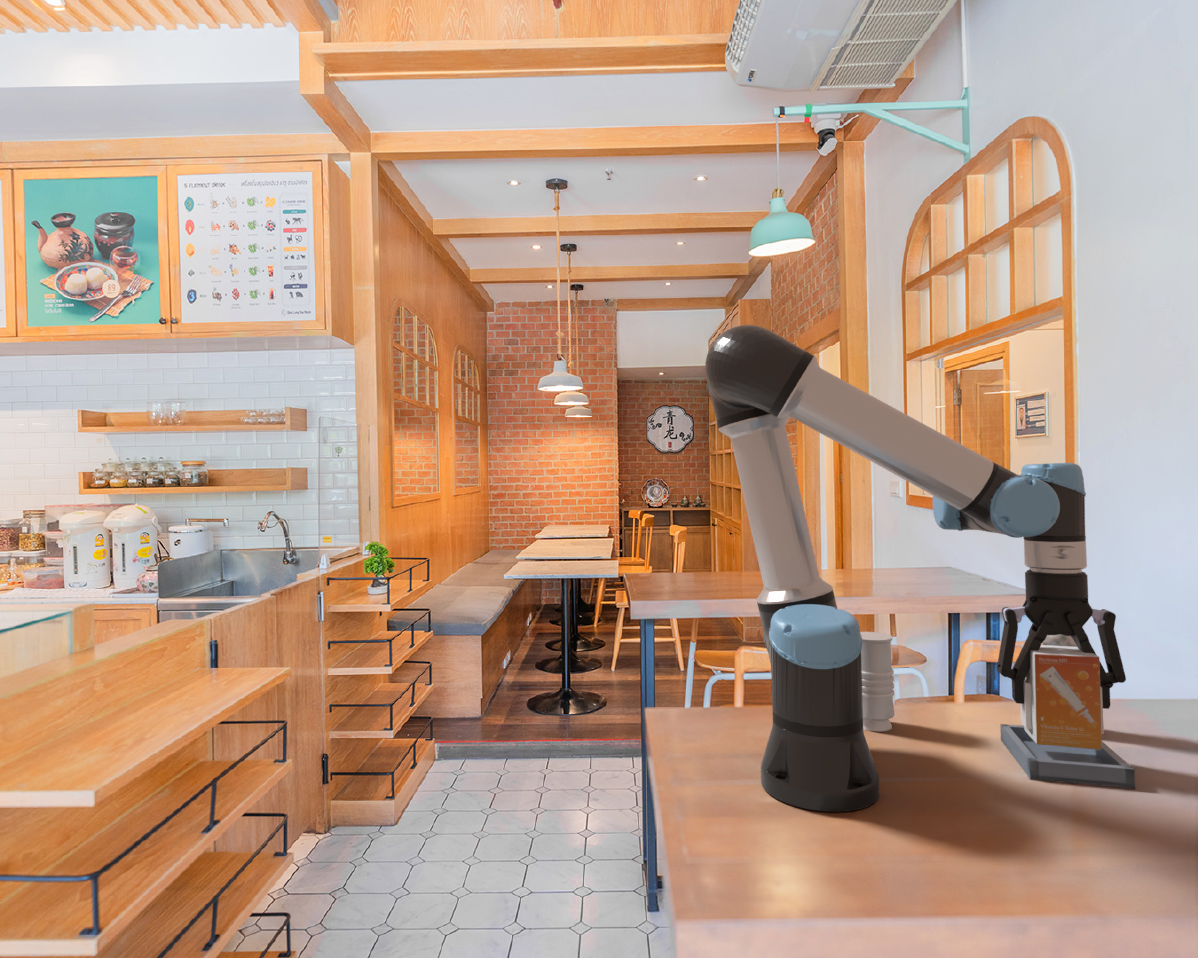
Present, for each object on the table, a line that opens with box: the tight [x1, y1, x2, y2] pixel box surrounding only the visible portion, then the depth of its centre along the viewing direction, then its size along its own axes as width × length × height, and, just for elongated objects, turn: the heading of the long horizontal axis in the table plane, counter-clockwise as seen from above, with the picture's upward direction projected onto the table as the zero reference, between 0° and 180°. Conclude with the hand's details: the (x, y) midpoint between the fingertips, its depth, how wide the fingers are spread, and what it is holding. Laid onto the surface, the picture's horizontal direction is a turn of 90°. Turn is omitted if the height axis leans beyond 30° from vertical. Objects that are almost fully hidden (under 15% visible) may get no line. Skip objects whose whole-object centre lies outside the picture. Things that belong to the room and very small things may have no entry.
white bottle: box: [860, 631, 895, 732], centre depth 115 cm, size 7×7×15 cm
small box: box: [1021, 644, 1103, 750], centre depth 98 cm, size 8×6×13 cm
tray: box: [999, 723, 1136, 789], centre depth 98 cm, size 12×15×2 cm
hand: (1061, 727), depth 98 cm, fingers closed on small box, 8 cm apart
